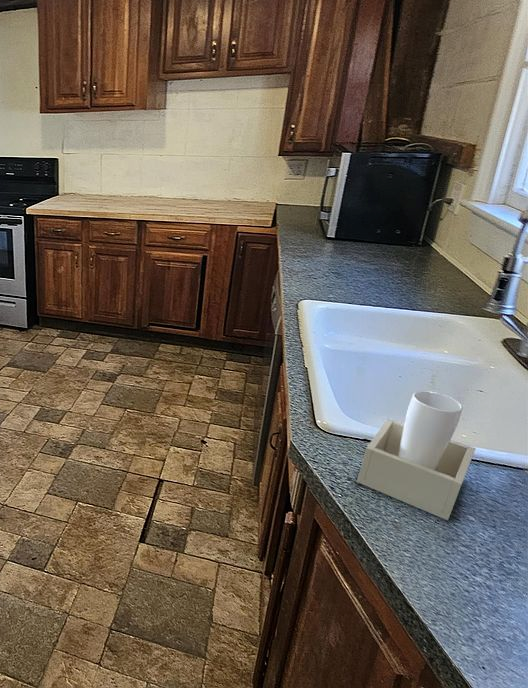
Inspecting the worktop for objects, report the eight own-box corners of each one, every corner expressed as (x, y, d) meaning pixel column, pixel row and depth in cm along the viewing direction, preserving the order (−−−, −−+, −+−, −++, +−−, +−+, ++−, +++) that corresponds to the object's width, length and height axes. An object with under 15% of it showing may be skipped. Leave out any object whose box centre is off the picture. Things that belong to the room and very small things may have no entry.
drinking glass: (397, 460, 94) (420, 386, 89) (441, 479, 89) (469, 402, 84) (382, 475, 90) (405, 399, 85) (427, 496, 85) (455, 416, 80)
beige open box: (462, 482, 90) (475, 448, 88) (447, 520, 82) (461, 484, 79) (378, 450, 99) (387, 418, 96) (356, 482, 90) (366, 447, 87)
